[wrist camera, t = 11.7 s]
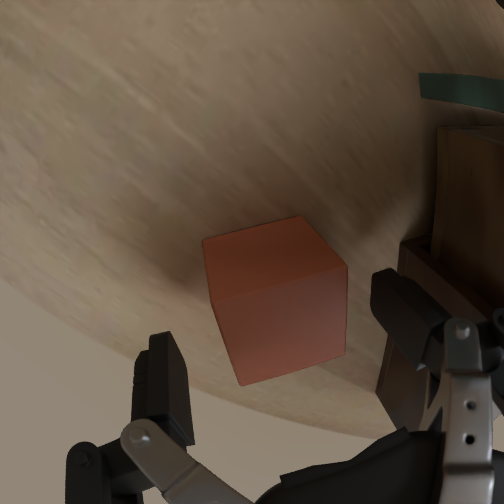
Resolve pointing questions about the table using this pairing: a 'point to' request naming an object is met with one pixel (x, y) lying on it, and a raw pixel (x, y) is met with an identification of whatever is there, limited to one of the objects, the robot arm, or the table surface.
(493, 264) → the drawer
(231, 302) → the block
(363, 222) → the table surface
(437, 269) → the cabinet
